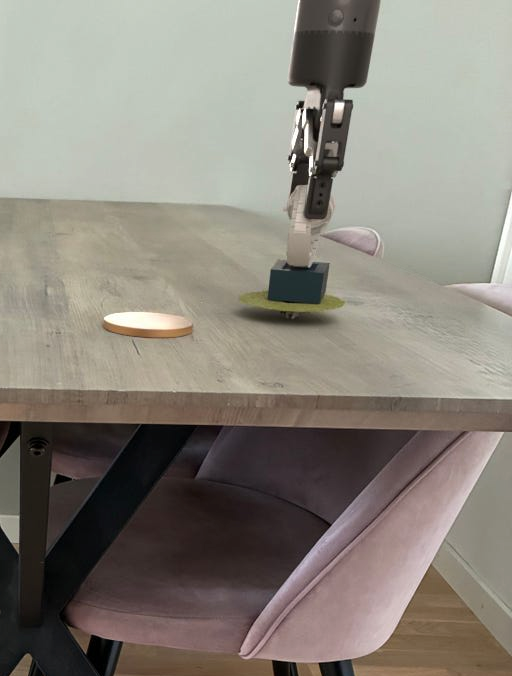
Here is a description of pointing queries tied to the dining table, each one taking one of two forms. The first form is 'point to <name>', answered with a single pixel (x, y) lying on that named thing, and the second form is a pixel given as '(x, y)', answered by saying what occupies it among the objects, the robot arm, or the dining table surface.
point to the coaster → (148, 324)
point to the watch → (301, 255)
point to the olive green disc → (290, 304)
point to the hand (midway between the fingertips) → (305, 215)
